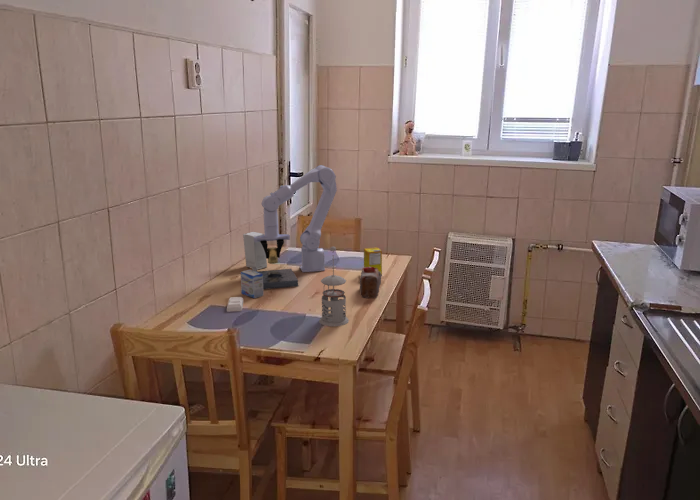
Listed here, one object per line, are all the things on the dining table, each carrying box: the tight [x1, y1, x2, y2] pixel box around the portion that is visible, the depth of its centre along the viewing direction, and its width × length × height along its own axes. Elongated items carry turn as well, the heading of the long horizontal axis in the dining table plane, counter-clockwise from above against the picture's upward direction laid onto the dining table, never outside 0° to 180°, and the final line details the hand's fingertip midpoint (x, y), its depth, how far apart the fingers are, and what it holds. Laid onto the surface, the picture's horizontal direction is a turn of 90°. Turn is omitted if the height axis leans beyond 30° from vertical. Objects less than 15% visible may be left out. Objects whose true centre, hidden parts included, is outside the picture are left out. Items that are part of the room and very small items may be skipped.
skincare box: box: [242, 231, 268, 271], centre depth 242 cm, size 8×6×15 cm
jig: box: [251, 267, 299, 290], centre depth 223 cm, size 16×16×4 cm
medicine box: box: [240, 269, 264, 299], centre depth 208 cm, size 8×4×9 cm, turn 47°
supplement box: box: [363, 246, 383, 277], centre depth 231 cm, size 6×6×11 cm
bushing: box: [267, 246, 279, 265], centre depth 234 cm, size 4×4×6 cm
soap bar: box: [226, 296, 244, 313], centre depth 197 cm, size 5×9×3 cm, turn 7°
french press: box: [318, 246, 350, 327], centre depth 182 cm, size 10×12×25 cm
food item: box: [359, 266, 382, 299], centre depth 210 cm, size 14×8×10 cm, turn 177°
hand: (272, 257), depth 234 cm, fingers closed on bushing, 4 cm apart
